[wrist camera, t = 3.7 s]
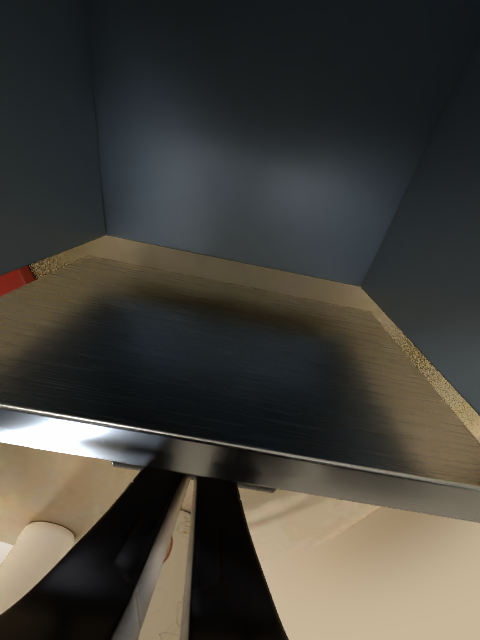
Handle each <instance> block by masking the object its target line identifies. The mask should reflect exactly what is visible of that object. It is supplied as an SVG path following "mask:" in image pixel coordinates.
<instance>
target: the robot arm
mask: <svg viewBox="0 0 480 640" xmlns="http://www.w3.org/2000/svg"><path fill="white" fill-rule="evenodd" d="M191 476H192V474H187V473H181V472H175V471H169V470H163V469H157V468H151V467H145V466H144V467H143V469H142V470H141V471H140V472H139V473H138V475H137V476H136V477H135V478H134V480H133V482H131V483H130V484H129V486H128V487H127V488H126V489H125V491H124V492H123V493H122V494H121V496H120V497H119V498H118V499H117V500H116V501H115V503H114V504H113V505H112V506H111V507H110V508H109V510H108V511H107V512H106V513H105V514H104V515H103V516H102V517H101V518H100V519H99V520H98V522H97V523H96V524H95V525H94V526H93V527H92V528H91V529H90V530H89V531H88V532H87V533H86V534H85V535H84V536H83V537H82V538H81V539H80V540H79V541H78V542H77V543H76V544H75V546H74V547H73V548H72V549H71V550H70V551H69V552H68V553H67V554H66V555H65V556H64V557H63V558H62V559H61V560H60V561H59V562H58V563H57V564H56V565H55V566H54V567H53V568H52V569H51V570H50V571H49V572H48V573H47V574H46V575H45V576H44V577H43V578H42V579H41V580H40V581H39V582H38V583H37V584H36V585H35V586H34V587H33V588H32V589H31V590H30V591H29V592H28V593H26V594H25V595H24V596H23V597H22V598H21V599H20V600H18V601H17V602H16V603H15V604H14V605H12V606H11V607H10V608H8V609H7V610H6V611H5V612H3V613H2V614H0V640H138V638H139V635H140V630H141V629H142V626H143V623H144V620H145V617H146V613H147V610H148V607H149V604H150V601H151V598H152V595H153V592H154V589H155V586H156V583H157V580H158V577H159V574H160V571H161V568H162V564H163V561H164V558H165V555H166V552H167V549H168V546H169V543H170V540H171V537H172V534H173V531H174V528H175V525H176V522H177V519H178V515H179V512H180V509H181V506H182V503H183V500H184V497H185V494H186V491H187V488H188V485H189V482H190V479H191ZM179 640H289V639H288V637H287V635H286V633H285V631H284V628H283V626H282V623H281V621H280V618H279V615H278V613H277V610H276V607H275V605H274V602H273V599H272V596H271V594H270V591H269V588H268V585H267V582H266V579H265V576H264V574H263V571H262V568H261V565H260V562H259V560H258V557H257V554H256V551H255V548H254V545H253V542H252V538H251V535H250V532H249V529H248V525H247V521H246V518H245V514H244V510H243V506H242V502H241V500H240V494H239V490H238V485H237V482H234V481H228V480H222V479H216V478H211V477H205V476H199V475H195V477H194V488H193V499H192V509H191V520H190V531H189V541H188V552H187V563H186V574H185V584H184V595H183V606H182V617H181V627H180V638H179Z"/></svg>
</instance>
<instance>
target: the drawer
mask: <svg viewBox="0 0 480 640" xmlns="http://www.w3.org/2000/svg"><path fill="white" fill-rule="evenodd" d="M105 235H108V236H113V237H118V238H123V239H128V240H133V241H138V242H143V243H148V244H153V245H158V246H163V247H168V248H172V249H177V250H182V251H187V252H192V253H197V254H202V255H207V256H212V257H217V258H222V259H227V260H232V261H237V262H242V263H247V264H252V265H256V266H261V267H266V268H271V269H276V270H281V271H286V272H291V273H296V274H301V275H306V276H311V277H316V278H321V279H326V280H331V281H335V282H340V283H345V284H350V285H355V286H360V287H361V288H362V289H363V290H364V291H365V292H366V293H367V294H368V295H369V297H370V298H371V299H372V300H373V301H374V302H375V303H376V304H377V305H378V306H379V307H380V308H381V310H382V311H383V312H384V313H385V314H386V315H387V316H388V317H389V318H390V319H391V320H392V321H393V323H394V324H395V325H396V326H397V327H398V328H399V329H400V330H401V331H402V332H403V333H404V334H405V335H406V337H407V338H408V339H409V340H410V341H411V342H412V343H413V344H414V345H415V346H416V347H417V348H418V350H419V351H420V352H421V353H422V354H423V355H424V356H425V357H426V358H427V359H428V360H429V361H430V363H431V364H432V365H433V366H434V367H435V368H436V369H437V370H438V371H439V372H440V373H441V374H442V375H443V377H444V378H445V379H446V380H447V381H448V382H449V383H450V384H451V385H452V386H453V387H454V388H455V390H456V391H457V392H458V393H459V394H460V395H461V396H462V397H463V398H464V399H465V400H466V401H467V403H468V404H469V405H470V406H471V407H472V408H473V409H474V410H475V411H476V412H477V413H478V414H479V415H480V0H0V276H1V275H4V274H7V273H9V272H12V271H14V270H17V269H20V268H22V267H25V266H27V265H30V264H33V263H35V262H38V261H40V260H43V259H46V258H48V257H51V256H53V255H56V254H59V253H61V252H64V251H66V250H69V249H72V248H74V247H77V246H79V245H82V244H85V243H87V242H90V241H92V240H95V239H97V238H100V237H103V236H105ZM0 442H3V443H9V444H15V445H21V446H27V447H32V448H38V449H44V450H50V451H56V452H62V453H68V454H74V455H80V456H86V457H92V458H98V459H104V460H110V461H111V464H112V465H113V466H114V467H120V468H125V469H131V470H137V471H141V470H142V469H143V467H144V466H145V467H151V468H157V469H163V470H169V471H175V472H181V473H187V474H192V476H191V480H194V477H195V475H199V476H205V477H211V478H216V479H222V480H228V481H234V482H237V485H238V487H239V488H245V489H251V490H257V491H263V492H269V493H273V492H275V490H276V489H282V490H288V491H294V492H300V493H305V494H311V495H317V496H323V497H329V498H335V499H341V500H347V501H353V502H359V503H365V504H371V505H377V506H383V507H389V508H394V509H400V510H406V511H413V512H418V513H424V514H431V515H436V516H442V517H448V518H454V519H460V520H466V521H472V522H478V523H480V443H479V442H478V440H477V439H476V438H475V437H474V436H473V434H472V433H471V432H470V431H469V430H468V428H467V427H466V426H465V425H464V424H463V422H462V421H461V420H460V419H459V418H458V416H457V415H456V414H455V413H454V412H453V410H452V409H451V408H450V407H449V406H448V404H447V403H446V402H445V401H444V400H443V398H442V397H441V396H440V395H439V393H438V392H437V391H436V390H435V389H434V387H433V386H432V385H431V384H430V383H429V381H428V380H427V379H426V378H425V377H424V375H423V374H422V373H421V372H420V371H419V369H418V368H417V367H416V366H415V365H414V363H413V362H412V361H411V360H410V359H409V357H408V356H407V355H406V354H405V353H404V351H403V350H402V349H401V348H400V347H399V345H398V344H397V343H396V342H395V340H394V339H393V338H392V337H391V336H390V334H389V333H388V332H387V331H386V330H385V328H384V327H383V326H382V325H381V324H380V322H379V321H378V320H377V319H376V318H375V316H374V315H373V314H372V313H371V312H370V311H365V310H360V309H355V308H349V307H344V306H339V305H334V304H329V303H324V302H319V301H314V300H309V299H304V298H299V297H294V296H289V295H284V294H279V293H274V292H269V291H264V290H259V289H254V288H249V287H244V286H239V285H234V284H229V283H224V282H219V281H214V280H209V279H204V278H199V277H194V276H189V275H184V274H179V273H173V272H168V271H163V270H158V269H153V268H148V267H143V266H138V265H133V264H128V263H123V262H118V261H113V260H108V259H103V258H98V257H93V256H86V257H84V258H82V259H80V260H78V261H76V262H73V263H71V264H69V265H67V266H65V267H63V268H61V269H58V270H56V271H54V272H52V273H50V274H48V275H45V276H43V277H41V278H39V279H37V280H35V281H33V282H30V283H28V284H26V285H24V286H22V287H20V288H18V289H15V290H13V291H11V292H9V293H7V294H5V295H2V296H0Z"/></svg>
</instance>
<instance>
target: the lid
mask: <svg viewBox="0 0 480 640" xmlns="http://www.w3.org/2000/svg"><path fill="white" fill-rule="evenodd" d="M33 281H35V279H34V276H33V275H32V273H31V271H30V269H29V268H28V266H25V267H22V268H20V269H17V270H14V271H12V272H9V273H7V274H4V275H1V276H0V296H2V295H5V294H7V293H9V292H11V291H13V290H15V289H18V288H20V287H22V286H24V285H26V284H28V283H30V282H33Z"/></svg>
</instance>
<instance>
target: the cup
mask: <svg viewBox="0 0 480 640" xmlns="http://www.w3.org/2000/svg"><path fill="white" fill-rule="evenodd" d="M73 542H74V535H73V533H72V532H71V531H69V530H68V529H66V528H64V527H62V526H60V525H56V524H53V523H48V522H32V523H30V524H29V525H27V526H26V527H25V528H23V530H22V532H21V534H20V535H19V537H18V539H17V541H16V542H15V544H14V546H13V547H12V549H11V550H10V552H9V553H8V555H7V556H6V558H5V559H4V561H3V562H2V563H1V565H0V614H2V613H3V612H5V611H6V610H7V609H8V608H10V607H11V606H12V605H14V604H15V603H16V602H17V601H18V600H20V599H21V598H22V597H23V596H24V595H25V594H26V593H28V592H29V591H30V590H31V589H32V588H33V587H34V586H35V585H36V584H37V583H38V582H39V581H40V580H41V579H42V578H43V577H44V576H45V575H46V574H47V573H48V572H49V571H50V570H51V569H52V568H53V567H54V566H55V565H56V564H57V563H58V562H59V561H60V560H61V559H62V558H63V557H64V556H65V555H66V554H67V553H68V552H69V550H70V548H71V546H72V544H73Z"/></svg>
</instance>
